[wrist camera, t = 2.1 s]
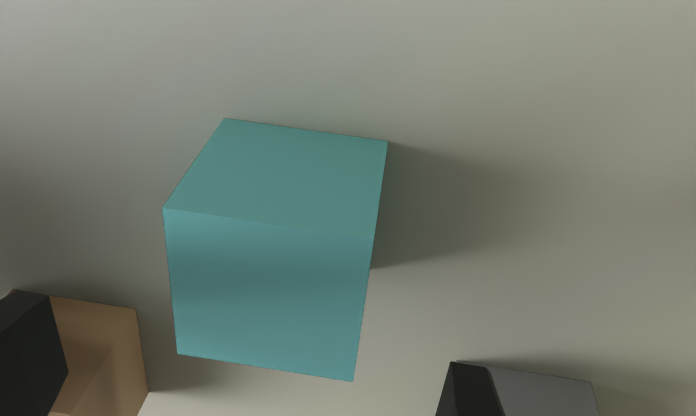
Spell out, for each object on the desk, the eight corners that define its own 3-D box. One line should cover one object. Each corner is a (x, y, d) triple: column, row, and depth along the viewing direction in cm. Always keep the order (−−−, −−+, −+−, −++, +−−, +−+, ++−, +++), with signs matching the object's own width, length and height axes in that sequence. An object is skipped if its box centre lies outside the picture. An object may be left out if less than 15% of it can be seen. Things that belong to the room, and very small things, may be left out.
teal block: (228, 246, 17) (177, 353, 13) (224, 116, 14) (161, 208, 11) (369, 267, 16) (352, 382, 13) (388, 139, 14) (374, 239, 11)
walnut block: (39, 372, 21) (-36, 477, 18) (14, 287, 19) (-78, 389, 15) (149, 390, 21) (94, 500, 17) (136, 307, 18) (70, 414, 15)
